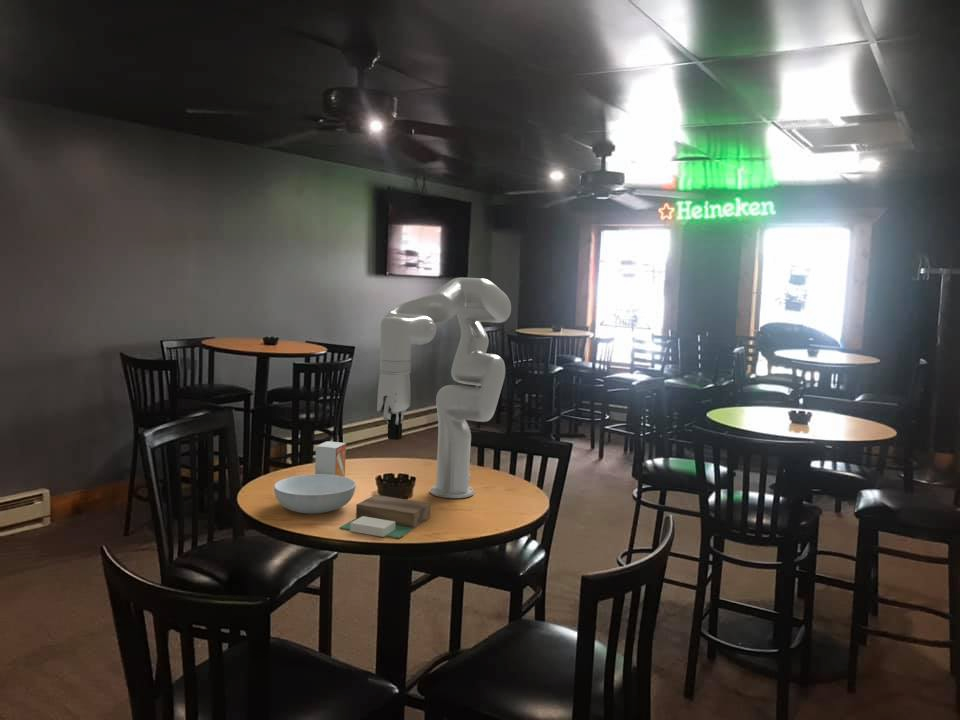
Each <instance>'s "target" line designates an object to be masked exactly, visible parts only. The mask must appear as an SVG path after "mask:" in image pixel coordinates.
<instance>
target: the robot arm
mask: <svg viewBox="0 0 960 720" xmlns="http://www.w3.org/2000/svg"><path fill="white" fill-rule="evenodd" d="M511 303H512V302H511V301H510V299H509V297H508V295H507V294H506V293H505V292H504V291H503V290H501V288H500V287H498V286H497V285H496V284H495V283H493V282H492V281H491V280H489V279H487V278H482V277H481V278H480V277H479V278H477V277H455V278H452V279H451V280H449V281H447V282H446V283H445V284H444V285H442V286H441V287H440V288H438V289H437V290H435V291H434V292H433V293H431V294H428V295H425V296H421V297H418V298H416V299H413V300H409V301H406V302H403V303H400V304H399V305H397V306H396V307H394V308H392V309H391V310H390V311H389V312H388V313H386V315H384V317H383V318H382V319H381V321H380V343H379V344H380V348H379V351H380V356H379V357H380V359H379V360H380V363H379V365H380V369H379V371H380V372H379V378H378V379H379V380H378V386H377V387H378V388H377V398H376V399H377V404H376V406H377V407H376V410H377V412H378V413H379V414H381V413H383V415H382V418H383V419H384V420H386V424H387V439H388V440H393V441H398V440H399V441H400V440H401V439H403V422H404V414H405V413H406V412H407V409H409V408H410V407H411V376H410V374H411V370H412V369H411V368H412V367H411V366H412V361H411V360H412V359H411V358H412V356H411V355H412V345H425V344H429V343H430V342H431V341H432V340H433V339H434V338H435V336H436V334H437V333H436V332H437V326H436V325H438V324H443V323H447V322H448V321H450V320H452V319H453V318H454V317H455V316H457V321H458V324H459V329H460V339H459V343H458V346H457V349H456V352H455V356H454V359H453V362H452V366H451V372H450V375H451V378H452V379H453V381H455V382H456V383H459V384H448V385H444V386H443V387H441V388H440V389H439V390H438V392H437V394H436V397H435V405H436V411H437V412H436V413H437V422H438V423H437V424H438V426H437V427H438V429H437V432H438V434H437V435H438V436H437V453H436V454H437V456H436V477H435V478H436V480H435V481H436V482H435V485H432V486H431V487H430V493H431V494H432V495H433V496H436V497H439V498H446V499H464V498H468V497H472V496H473V495H475V494H474V493H475V489H474V488H473V487H471V486H470V480H471V478H472V477H471V476H472V475H471V474H470V468H471V467H470V465H471V464H470V463H471V444H472V443H471V442H472V433H471V429H470V425H469V423H468V422H467V421H473V422H479V423H480V422H481V423H483V422H488V421H490V420H491V419H492V418H493V417H494V415H495V412H496V409H497V405H498V402H499V399H500V395H501V392H502V388H503V385H504V382H505V381H504V380H505V377H506V364H505V361H504V359H503V358H502V357H501V356H499V355H498V354H495V353H487V351H488V347H489V343H490V342H489V341H490V340H489V337H488V334H487V332H486V330H485V328H484V327H483V325H482V323H496V324H498V323H504V322H506V321H507V320H508V319H509V317H510V315H511V314H512V313H511V311H512V304H511ZM460 384H461V385H460ZM462 384H464V385H462ZM469 385H470V386H469ZM476 386H480V387H476Z"/></svg>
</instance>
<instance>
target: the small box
mask: <svg viewBox="0 0 960 720" xmlns="http://www.w3.org/2000/svg"><path fill="white" fill-rule="evenodd" d="M346 454H347V443H346V442H339V441H330V440H329V441H324V442H322V443H320V444H318V445H316V446H315V462H314V466H315V467H314V470H315V471H314V474H326V475H337V476H343V477H346V459H347V458H346V457H347V456H346Z"/></svg>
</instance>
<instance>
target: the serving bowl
mask: <svg viewBox="0 0 960 720" xmlns="http://www.w3.org/2000/svg"><path fill="white" fill-rule="evenodd" d="M356 486H357V485H356V482H355V481H354V480H353V479H351V478H349V477H346V476H345V477H343V476H337V475H326V474H315V473H313V474H303V475H295V476H291V477H286V478H284V479H283V478H282V479H280V480H278V481H276V482H275V483H274V485H273V489H274V495H275V498H276V500H277V502H279V504H280V505H282V506H283V507H284V508H286V509H288V510H290V511H292V512H296V513H302V514H305V513H306V515H319V514H320V515H321V514H325V513H328V512H333V511H336V510H338V509H341V508H343V507H344V506H346V505H347V504H348V503H349V502H350V501H351V500H352V498H354V495H355V491H356Z"/></svg>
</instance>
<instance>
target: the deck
mask: <svg viewBox="0 0 960 720" xmlns="http://www.w3.org/2000/svg"><path fill="white" fill-rule="evenodd" d="M355 505H356V507H355V508H356V509H355V510H356V511H355V512H356V513H355V519H358V518H360V517H362V516H365V517H371V518H377V519H383V520H389V521H395V525H398V526H404V527H410V528H413V530H415V529H416V528H418V527H419V526H421V525H423V524H424V523H425V522H427V521H428V520H430V519H431V502H425V501H418V500H412V499H406V498H398V497H394V496H393V497H392V496H387V495H381V494H380V495H379V494H374V495H372V496H370V497H369V498H366V499H364V500H362V501H360V502H358V503H356V504H355ZM429 518H430V519H429ZM426 520H427V521H426ZM423 522H424V523H423ZM420 524H421V525H420ZM417 526H418V527H417ZM414 528H415V529H414Z"/></svg>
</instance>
